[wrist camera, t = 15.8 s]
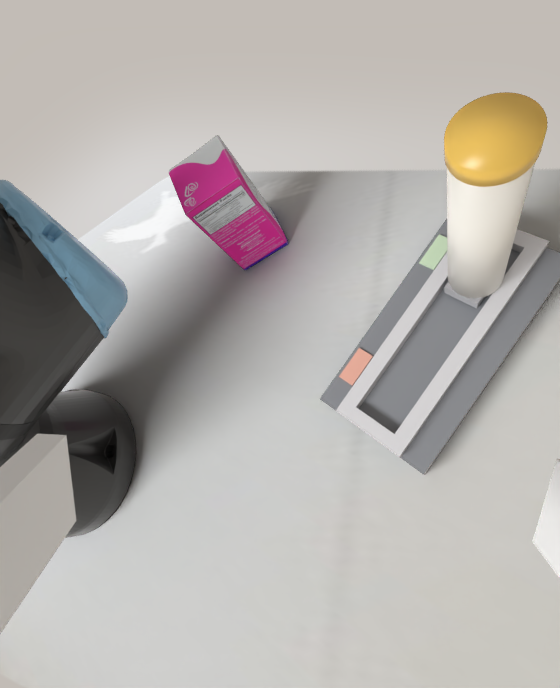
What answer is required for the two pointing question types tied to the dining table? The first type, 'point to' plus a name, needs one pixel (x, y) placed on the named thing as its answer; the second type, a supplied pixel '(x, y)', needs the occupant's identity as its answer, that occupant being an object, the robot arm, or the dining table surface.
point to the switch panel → (438, 350)
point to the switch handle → (487, 188)
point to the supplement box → (227, 204)
